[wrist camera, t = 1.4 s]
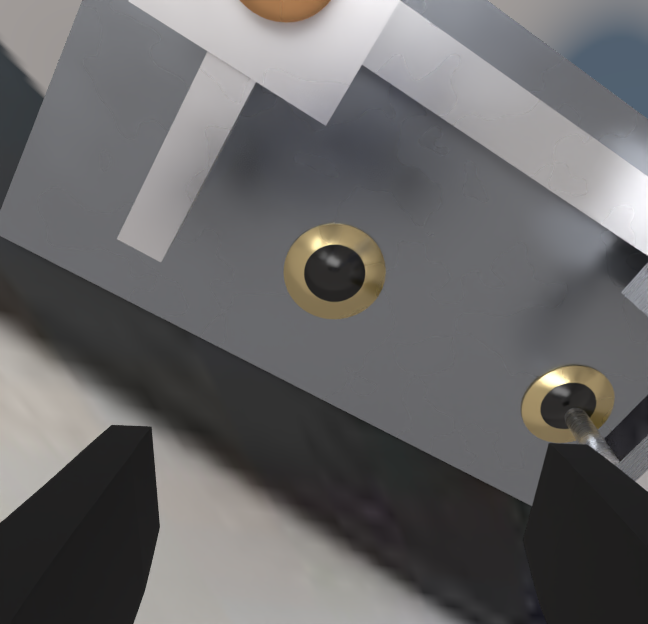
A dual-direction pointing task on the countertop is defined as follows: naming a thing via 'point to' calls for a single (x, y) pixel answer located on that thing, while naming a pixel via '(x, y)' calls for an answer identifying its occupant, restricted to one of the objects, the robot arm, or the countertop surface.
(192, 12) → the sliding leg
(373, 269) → the aluminium mounting plate
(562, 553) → the robot arm
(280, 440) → the countertop surface
